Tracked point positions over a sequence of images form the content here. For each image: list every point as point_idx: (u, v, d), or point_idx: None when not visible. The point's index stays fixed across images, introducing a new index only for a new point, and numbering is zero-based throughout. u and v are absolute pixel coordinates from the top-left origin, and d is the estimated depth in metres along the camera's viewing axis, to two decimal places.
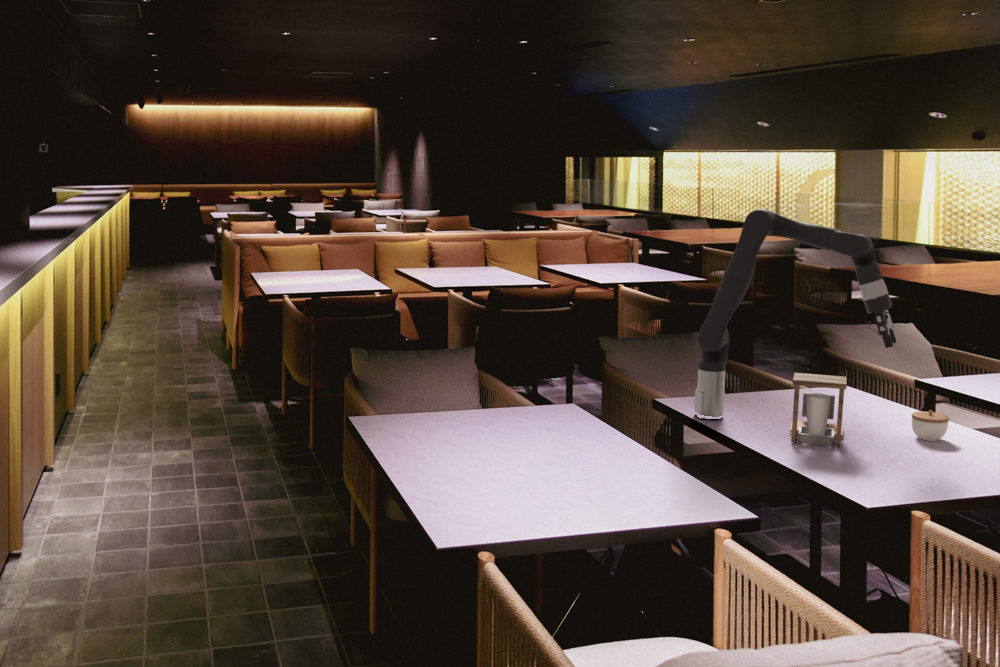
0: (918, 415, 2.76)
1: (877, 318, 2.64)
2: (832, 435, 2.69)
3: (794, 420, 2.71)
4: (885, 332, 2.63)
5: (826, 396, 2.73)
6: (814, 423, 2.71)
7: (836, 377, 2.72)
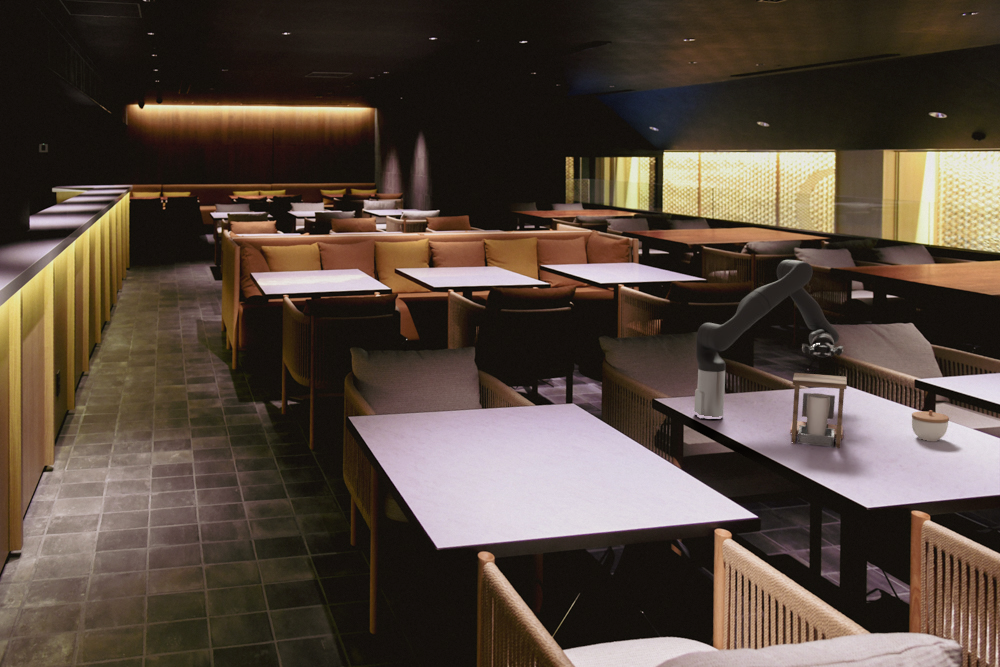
0: (918, 415, 2.76)
1: None
2: (832, 435, 2.69)
3: (794, 420, 2.71)
4: (840, 353, 2.97)
5: (826, 396, 2.73)
6: (814, 423, 2.71)
7: (836, 377, 2.72)
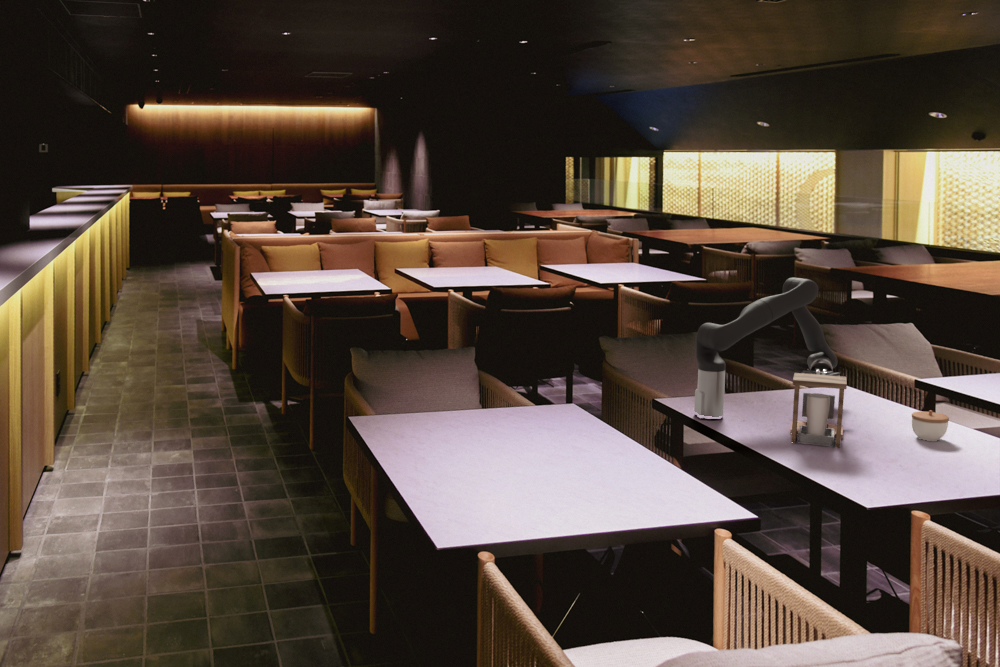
0: (918, 415, 2.76)
1: (839, 375, 3.00)
2: (832, 435, 2.69)
3: (794, 420, 2.71)
4: None
5: (826, 396, 2.73)
6: (814, 423, 2.71)
7: (836, 377, 2.72)
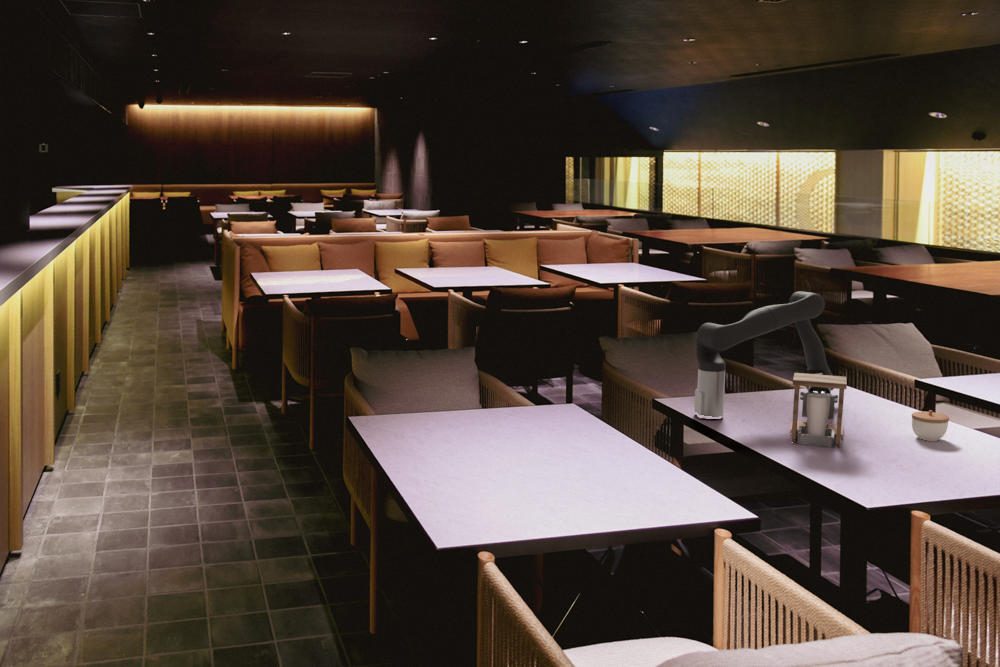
0: (918, 415, 2.76)
1: (837, 398, 2.97)
2: (832, 435, 2.68)
3: (794, 420, 2.71)
4: None
5: (826, 396, 2.73)
6: (814, 423, 2.71)
7: (836, 377, 2.72)
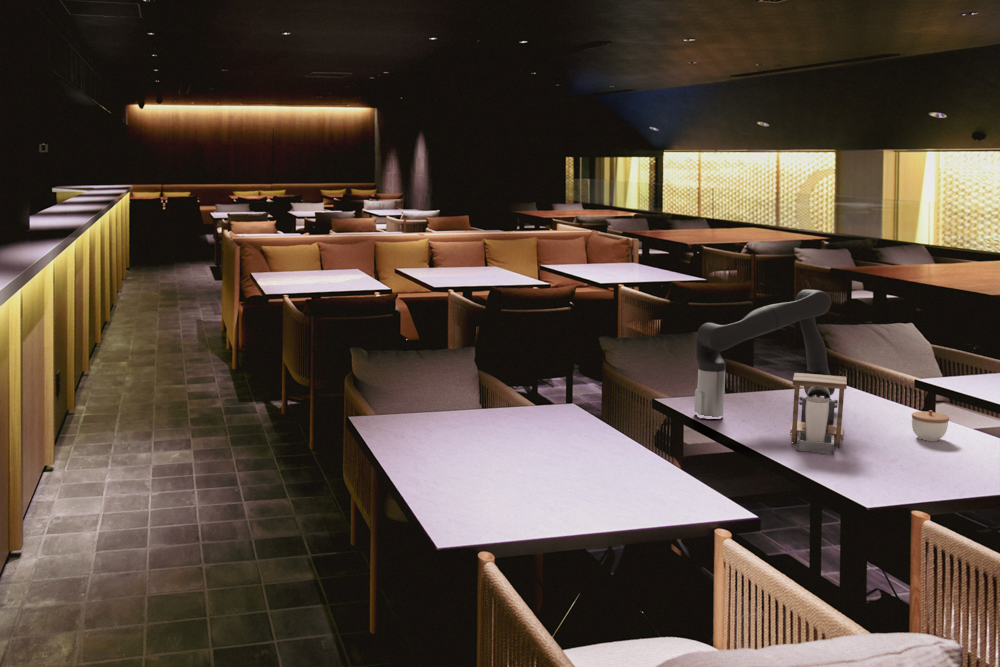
0: (918, 415, 2.76)
1: (837, 403, 2.90)
2: (832, 442, 2.61)
3: (794, 420, 2.71)
4: None
5: (826, 400, 2.66)
6: (812, 428, 2.65)
7: (836, 377, 2.72)
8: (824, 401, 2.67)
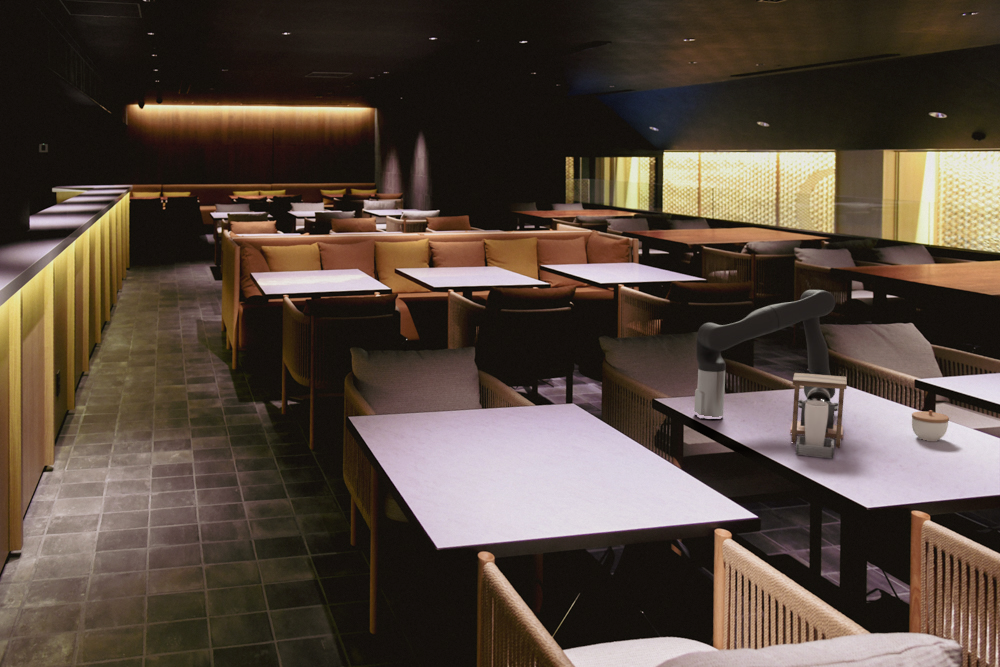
0: (918, 415, 2.76)
1: (837, 406, 2.85)
2: (832, 446, 2.57)
3: (794, 420, 2.71)
4: None
5: (825, 404, 2.62)
6: (811, 431, 2.61)
7: (836, 377, 2.72)
8: (824, 404, 2.63)
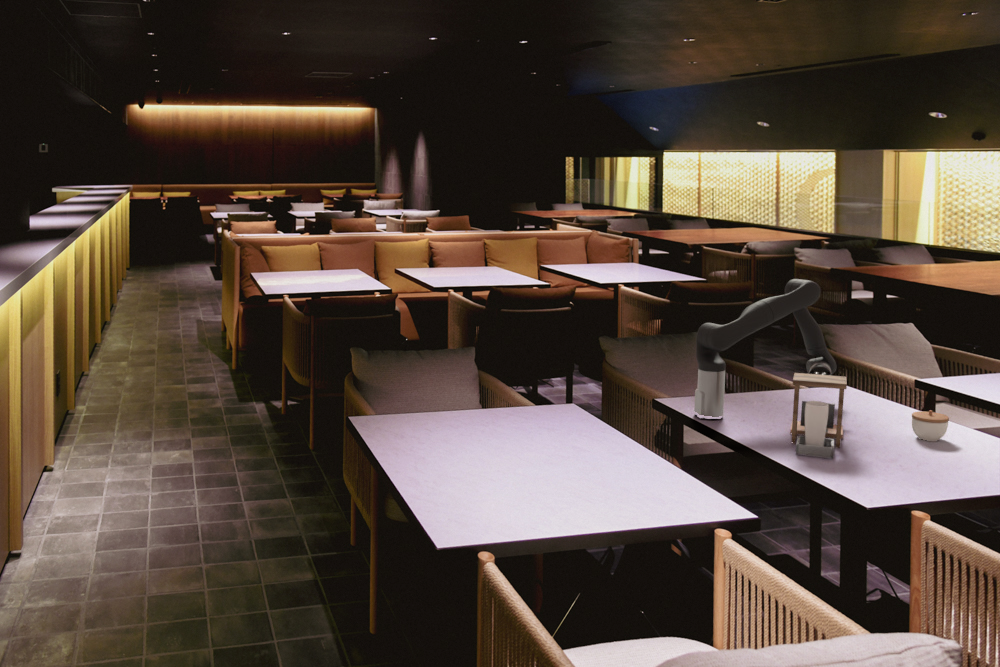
0: (918, 415, 2.76)
1: None
2: (832, 446, 2.57)
3: (794, 420, 2.71)
4: None
5: (826, 404, 2.62)
6: (811, 431, 2.61)
7: (836, 377, 2.72)
8: (824, 405, 2.63)
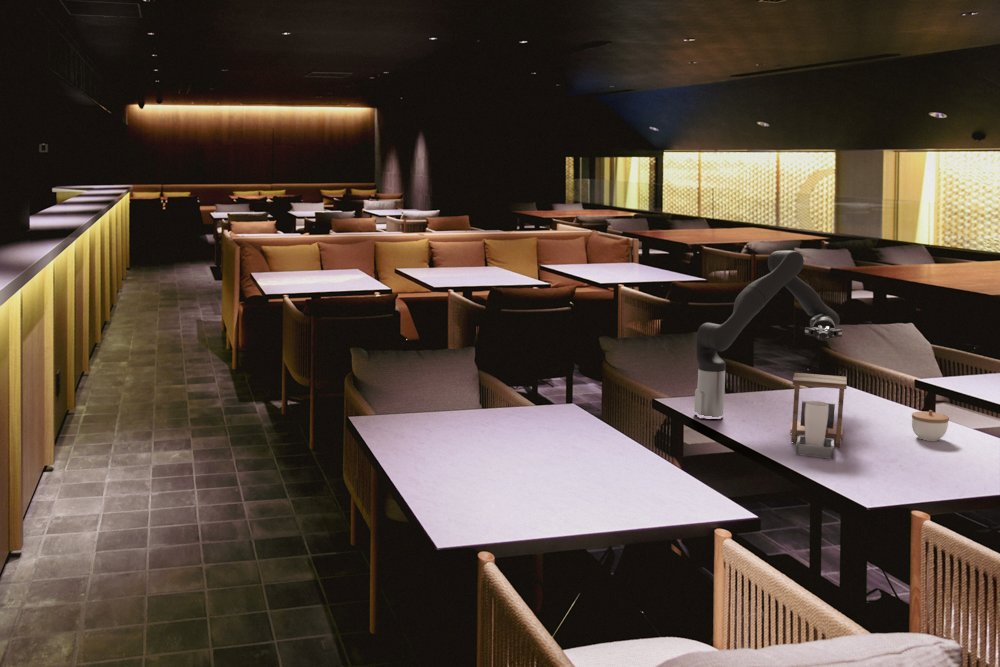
0: (918, 415, 2.76)
1: (841, 332, 3.00)
2: (832, 446, 2.57)
3: (794, 420, 2.71)
4: (832, 335, 2.98)
5: (826, 404, 2.62)
6: (811, 431, 2.61)
7: (836, 377, 2.72)
8: (824, 405, 2.63)
